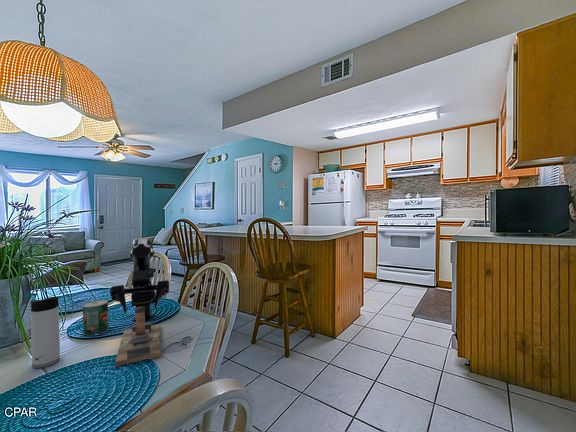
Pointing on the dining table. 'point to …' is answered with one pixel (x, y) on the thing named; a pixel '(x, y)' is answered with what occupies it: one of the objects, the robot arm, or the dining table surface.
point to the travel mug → (45, 332)
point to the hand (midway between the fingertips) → (140, 311)
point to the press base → (139, 346)
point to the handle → (140, 326)
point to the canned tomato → (95, 317)
